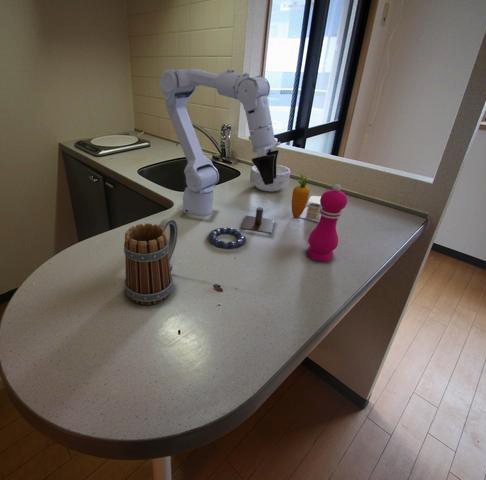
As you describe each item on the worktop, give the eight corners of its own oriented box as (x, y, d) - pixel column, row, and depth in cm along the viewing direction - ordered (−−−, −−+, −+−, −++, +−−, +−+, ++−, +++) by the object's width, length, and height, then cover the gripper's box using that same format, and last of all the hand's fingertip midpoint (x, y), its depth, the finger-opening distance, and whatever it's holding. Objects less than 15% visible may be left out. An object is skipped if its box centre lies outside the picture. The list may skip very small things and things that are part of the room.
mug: (153, 313, 65) (149, 251, 57) (115, 295, 70) (107, 236, 62) (193, 275, 76) (194, 219, 69) (158, 261, 81) (156, 208, 74)
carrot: (304, 223, 100) (314, 178, 93) (288, 222, 101) (296, 177, 94) (302, 217, 105) (312, 173, 97) (287, 215, 106) (295, 172, 98)
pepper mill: (333, 251, 87) (353, 181, 77) (334, 265, 81) (355, 191, 71) (305, 246, 89) (321, 177, 79) (304, 259, 83) (321, 187, 73)
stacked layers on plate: (323, 224, 101) (327, 208, 98) (296, 216, 105) (299, 200, 102) (333, 213, 107) (337, 198, 105) (307, 206, 112) (310, 192, 109)
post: (240, 232, 95) (242, 212, 92) (245, 219, 103) (247, 200, 99) (270, 237, 93) (273, 217, 90) (273, 223, 100) (276, 205, 97)
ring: (203, 248, 87) (203, 240, 86) (213, 231, 96) (213, 223, 94) (241, 255, 84) (242, 247, 83) (248, 237, 93) (249, 229, 91)
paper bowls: (258, 178, 137) (261, 160, 133) (293, 186, 129) (296, 167, 125) (242, 188, 126) (244, 169, 122) (278, 198, 118) (281, 177, 114)
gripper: (274, 124, 71) (284, 183, 75) (279, 123, 84) (288, 173, 88) (243, 132, 74) (255, 189, 78) (253, 130, 87) (262, 179, 91)
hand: (270, 181), depth 83 cm, fingers open, 7 cm apart
